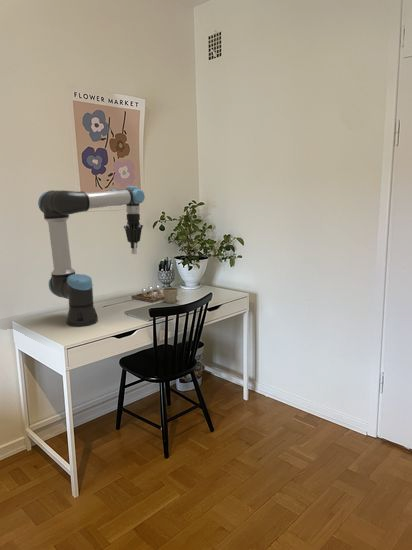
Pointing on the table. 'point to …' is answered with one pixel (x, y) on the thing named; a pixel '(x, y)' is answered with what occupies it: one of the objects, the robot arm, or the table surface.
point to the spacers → (150, 292)
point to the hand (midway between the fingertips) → (134, 253)
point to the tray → (139, 297)
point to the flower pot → (170, 294)
